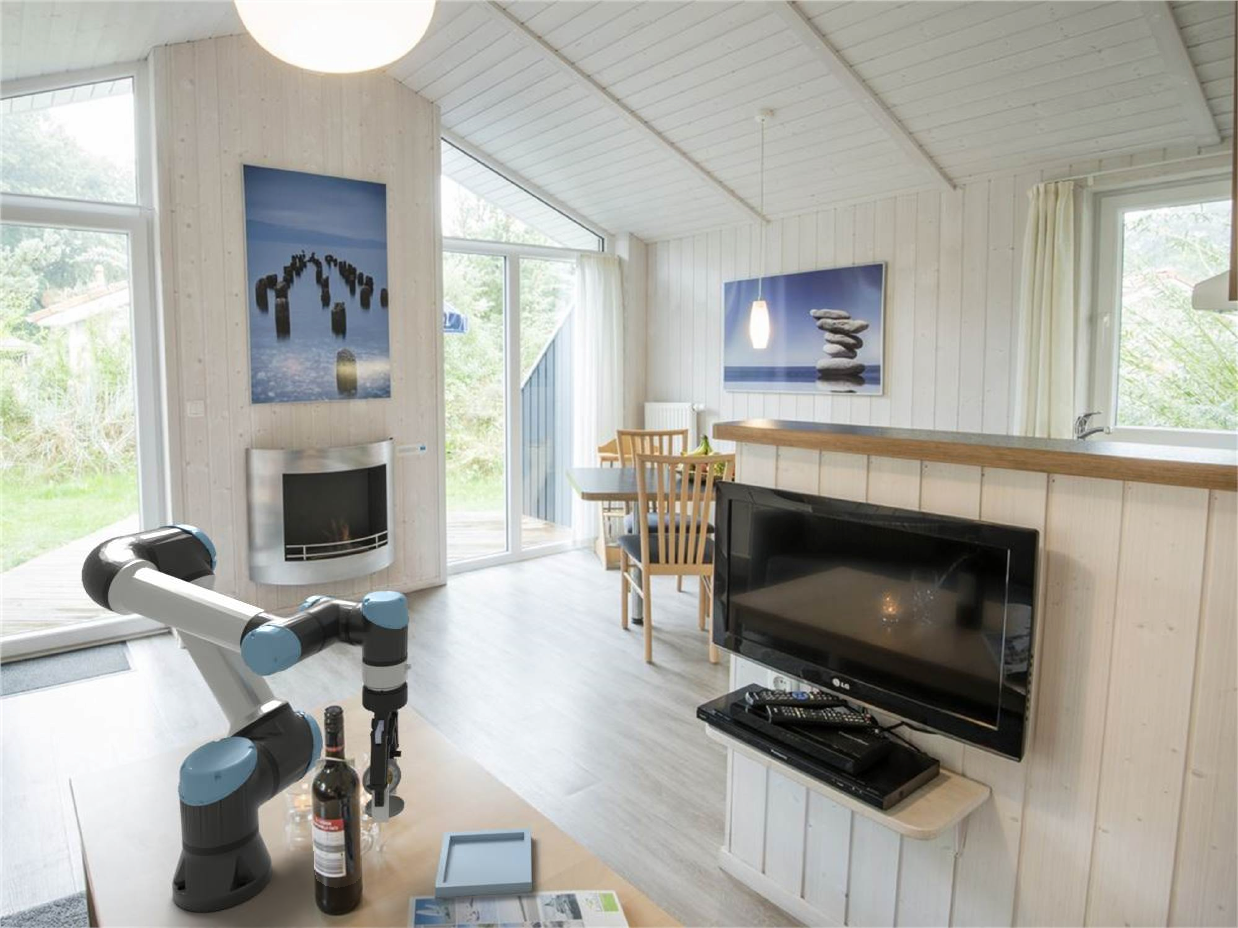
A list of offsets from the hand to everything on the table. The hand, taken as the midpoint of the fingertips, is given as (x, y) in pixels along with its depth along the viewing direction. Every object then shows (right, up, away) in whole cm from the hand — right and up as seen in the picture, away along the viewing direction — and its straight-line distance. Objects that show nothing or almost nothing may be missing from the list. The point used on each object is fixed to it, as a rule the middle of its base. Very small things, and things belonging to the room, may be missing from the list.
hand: (384, 806), depth 141 cm
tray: (+17, -11, +2) cm, 21 cm away
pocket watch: (0, 0, +1) cm, 1 cm away
